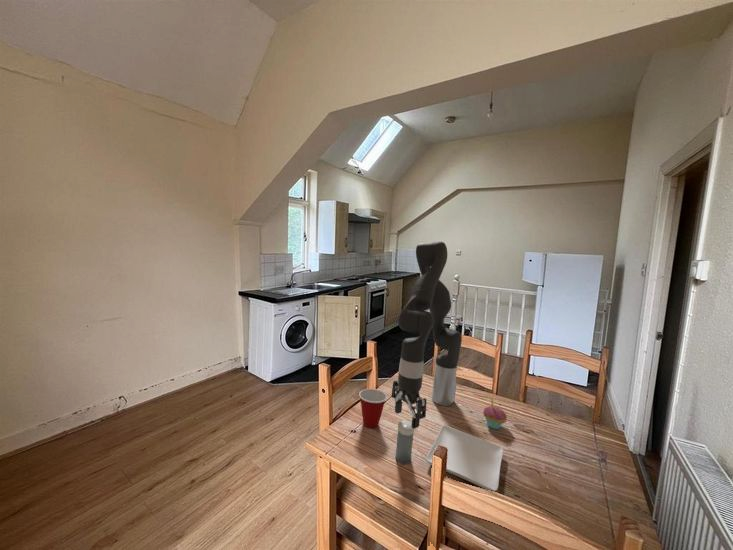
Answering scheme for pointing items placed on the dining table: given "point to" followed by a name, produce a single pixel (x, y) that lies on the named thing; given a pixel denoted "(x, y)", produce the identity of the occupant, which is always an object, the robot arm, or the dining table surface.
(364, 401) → the plastic cup
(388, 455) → the dining table surface
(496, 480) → the salad plate
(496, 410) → the cupcake
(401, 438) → the shaker
